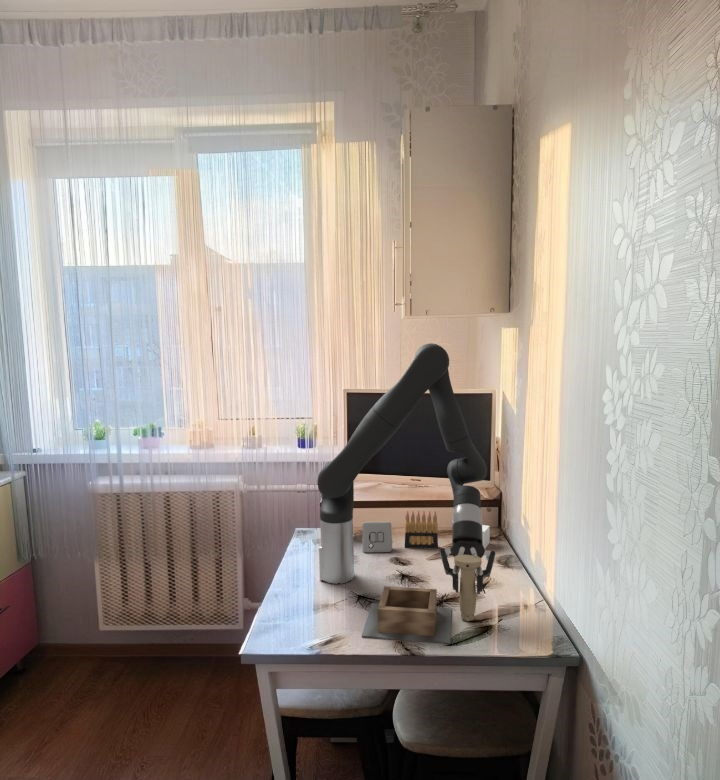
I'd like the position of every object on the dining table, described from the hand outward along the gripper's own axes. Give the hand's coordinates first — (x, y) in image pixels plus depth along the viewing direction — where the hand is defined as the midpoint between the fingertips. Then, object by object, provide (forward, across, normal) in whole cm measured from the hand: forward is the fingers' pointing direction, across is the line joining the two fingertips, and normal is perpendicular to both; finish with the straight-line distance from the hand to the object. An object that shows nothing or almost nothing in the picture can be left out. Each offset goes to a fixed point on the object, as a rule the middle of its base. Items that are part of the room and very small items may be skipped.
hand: (467, 591), depth 138 cm
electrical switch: (-25, -28, +36) cm, 52 cm away
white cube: (-30, +4, +42) cm, 52 cm away
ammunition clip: (-28, -14, +39) cm, 50 cm away
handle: (+4, 0, +7) cm, 8 cm away
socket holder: (+7, -14, +4) cm, 16 cm away
